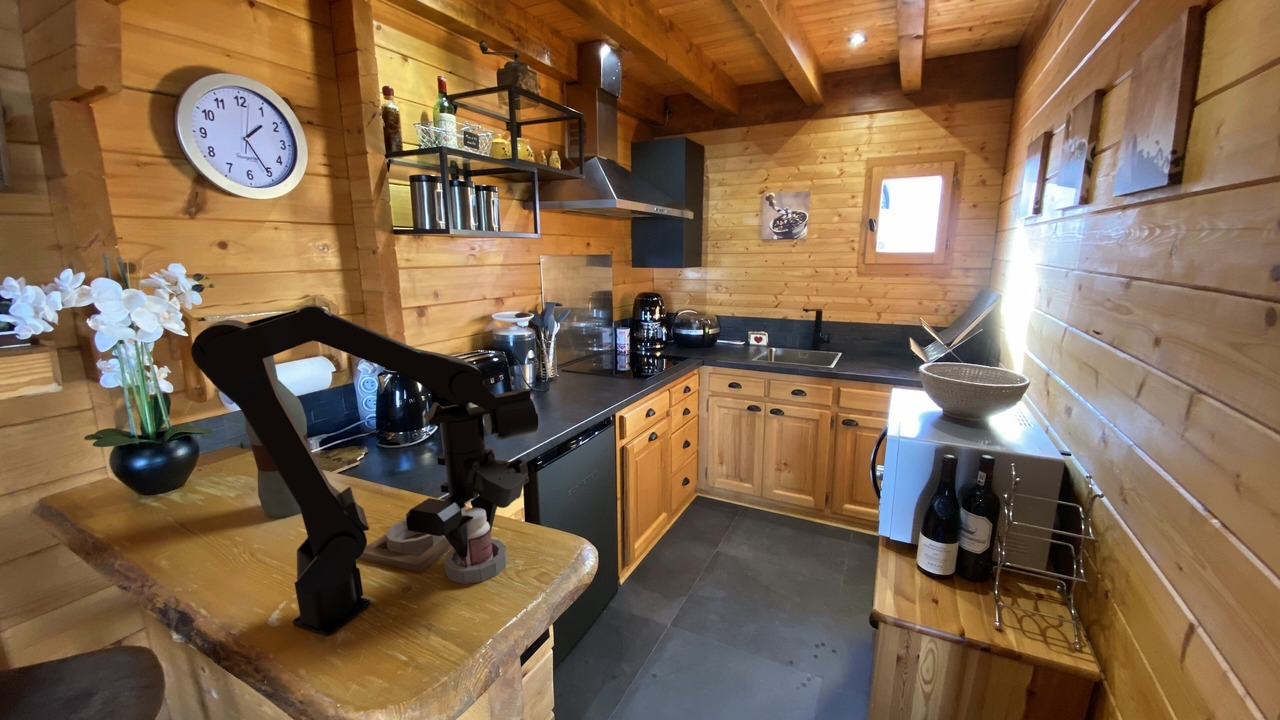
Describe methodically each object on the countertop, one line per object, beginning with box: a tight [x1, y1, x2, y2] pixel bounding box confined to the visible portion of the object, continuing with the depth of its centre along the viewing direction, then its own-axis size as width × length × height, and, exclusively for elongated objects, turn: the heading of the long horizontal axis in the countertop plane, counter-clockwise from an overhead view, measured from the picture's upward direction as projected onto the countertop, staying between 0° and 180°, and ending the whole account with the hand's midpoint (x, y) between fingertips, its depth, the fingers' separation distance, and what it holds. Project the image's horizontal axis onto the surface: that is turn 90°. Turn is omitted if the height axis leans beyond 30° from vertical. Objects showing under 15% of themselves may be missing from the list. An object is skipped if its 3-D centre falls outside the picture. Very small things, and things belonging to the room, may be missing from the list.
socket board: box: [358, 518, 453, 573], centre depth 84 cm, size 12×12×3 cm
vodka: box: [244, 355, 309, 519], centre depth 96 cm, size 9×9×30 cm
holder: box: [443, 538, 508, 585], centre depth 78 cm, size 8×8×2 cm
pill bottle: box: [459, 507, 494, 567], centre depth 77 cm, size 5×5×8 cm
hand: (474, 547), depth 78 cm, fingers closed on pill bottle, 5 cm apart
